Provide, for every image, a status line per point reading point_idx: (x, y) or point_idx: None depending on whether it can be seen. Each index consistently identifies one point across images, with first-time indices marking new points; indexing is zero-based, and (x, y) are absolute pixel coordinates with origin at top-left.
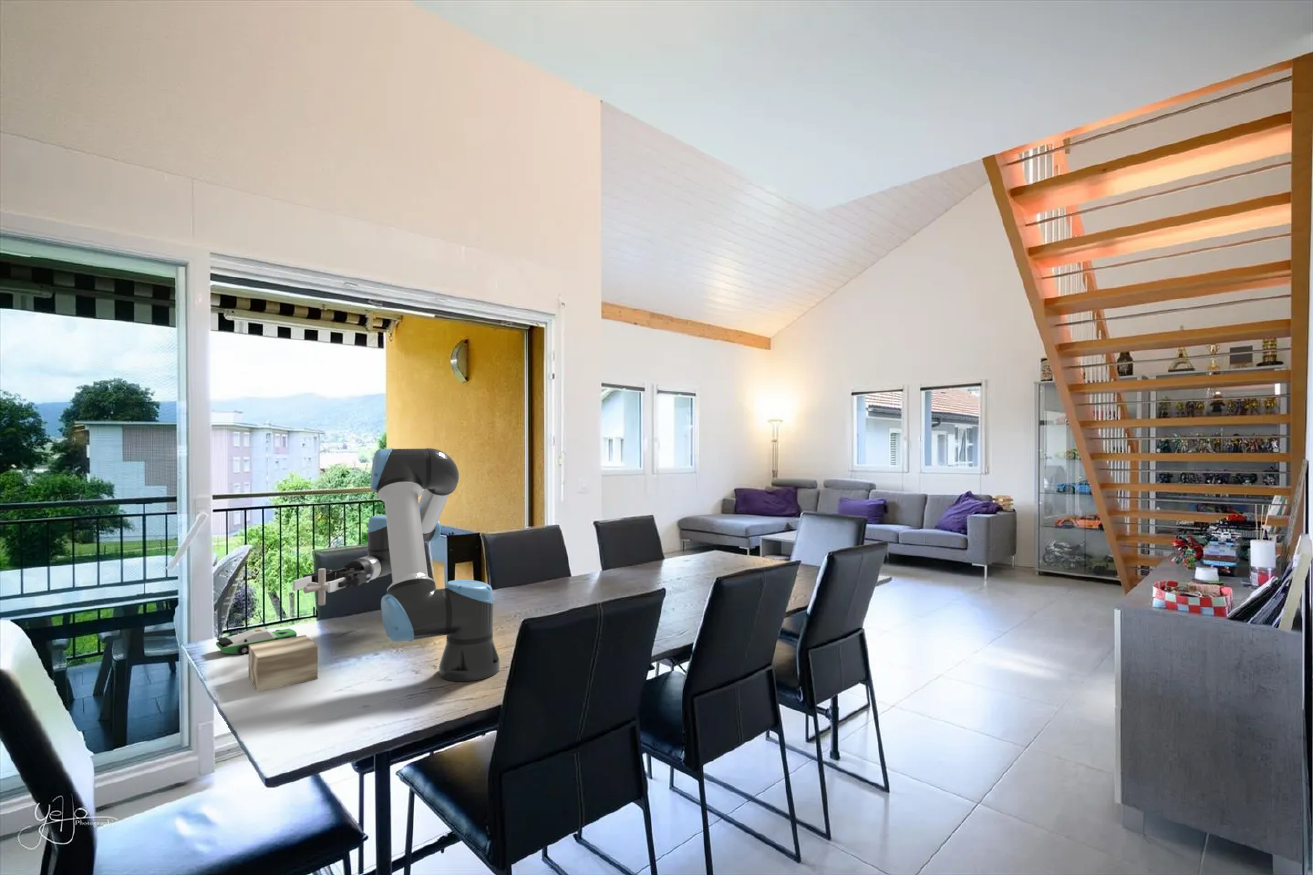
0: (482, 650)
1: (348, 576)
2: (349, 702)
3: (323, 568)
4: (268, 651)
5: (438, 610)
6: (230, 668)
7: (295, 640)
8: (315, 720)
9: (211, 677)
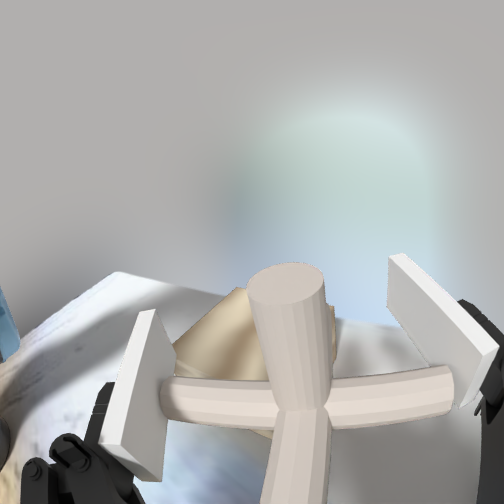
0: None
1: (70, 440)
2: (98, 351)
3: (294, 298)
4: (249, 306)
5: None
6: (416, 357)
7: (254, 362)
8: (118, 316)
9: (391, 327)
